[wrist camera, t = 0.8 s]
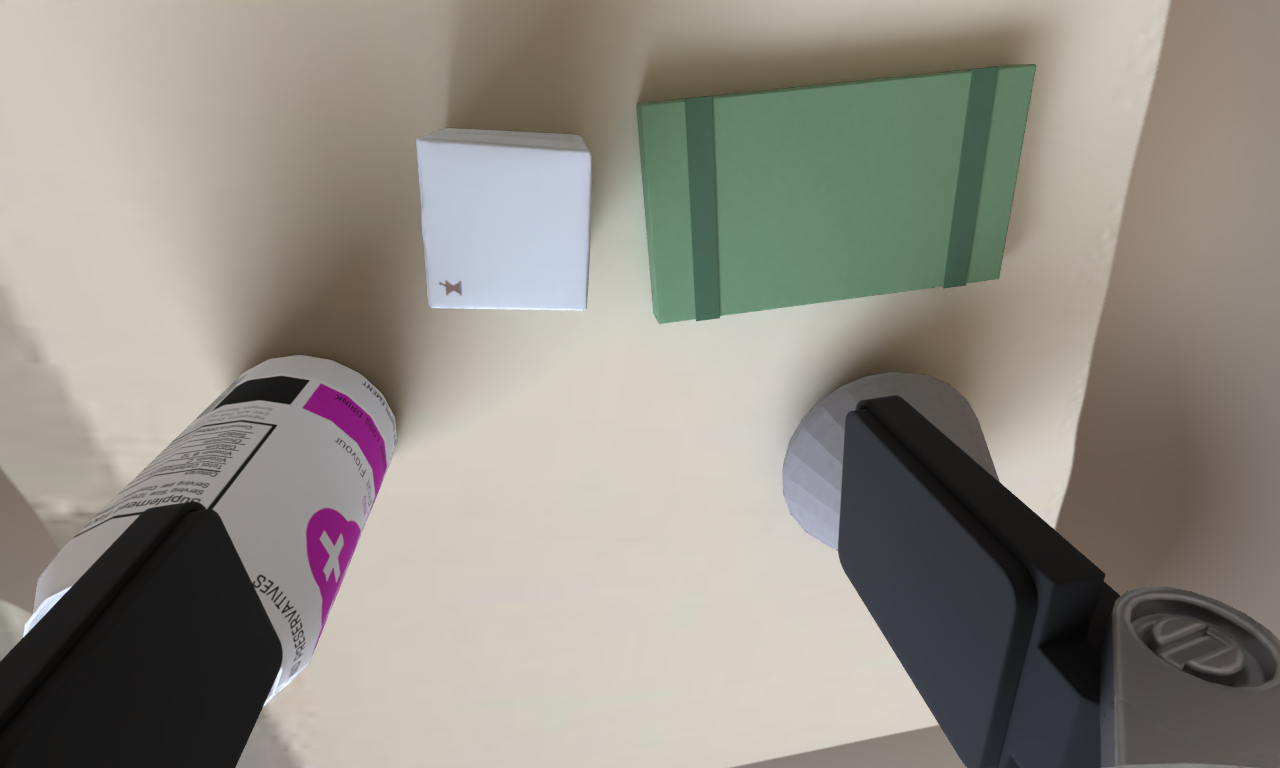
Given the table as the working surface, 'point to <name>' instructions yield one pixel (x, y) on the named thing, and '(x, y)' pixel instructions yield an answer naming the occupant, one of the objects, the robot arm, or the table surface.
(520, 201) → the product box
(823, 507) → the coffee pot
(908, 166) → the dish towel
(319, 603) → the supplement can
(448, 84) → the table surface
